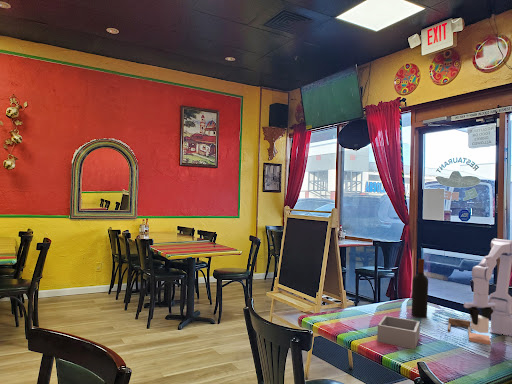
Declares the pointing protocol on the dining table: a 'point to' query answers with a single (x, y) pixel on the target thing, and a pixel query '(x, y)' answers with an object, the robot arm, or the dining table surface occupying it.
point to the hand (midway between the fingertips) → (479, 324)
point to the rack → (459, 323)
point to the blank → (481, 325)
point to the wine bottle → (420, 292)
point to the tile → (479, 338)
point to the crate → (398, 332)
